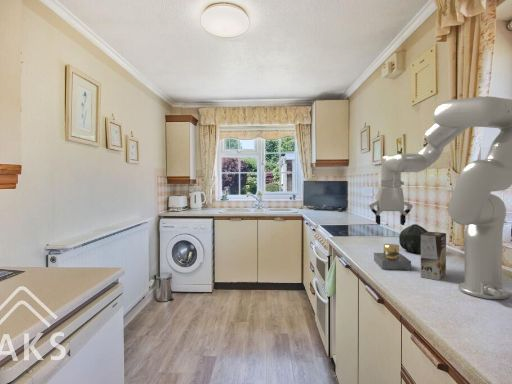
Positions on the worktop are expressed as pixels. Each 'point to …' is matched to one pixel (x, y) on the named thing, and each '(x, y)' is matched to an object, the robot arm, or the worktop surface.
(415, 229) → the squash
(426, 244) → the coffee box
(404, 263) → the block
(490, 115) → the robot arm
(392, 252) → the end cover
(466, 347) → the worktop surface
